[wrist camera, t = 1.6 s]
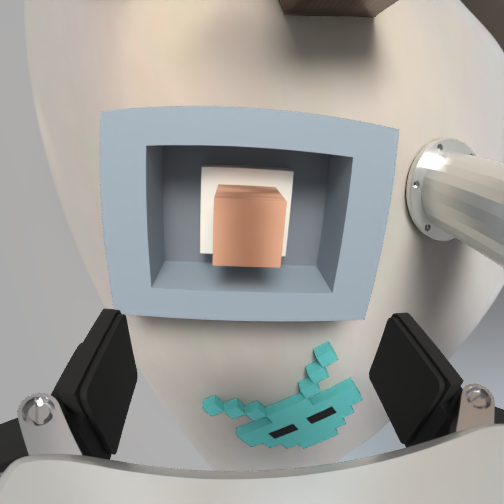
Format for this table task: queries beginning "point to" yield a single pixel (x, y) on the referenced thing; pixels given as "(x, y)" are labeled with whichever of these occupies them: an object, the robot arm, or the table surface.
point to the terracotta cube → (248, 226)
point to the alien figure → (295, 409)
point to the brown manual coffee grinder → (335, 7)
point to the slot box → (252, 174)
